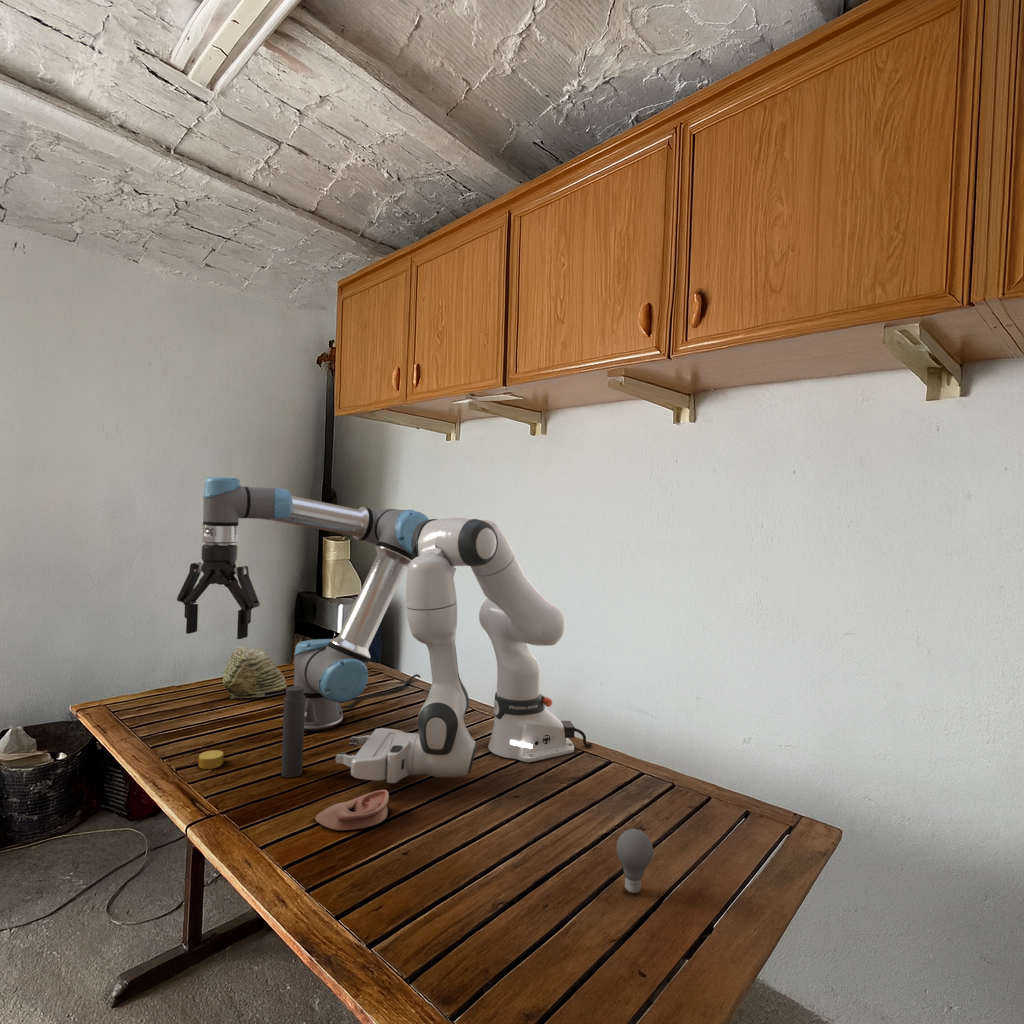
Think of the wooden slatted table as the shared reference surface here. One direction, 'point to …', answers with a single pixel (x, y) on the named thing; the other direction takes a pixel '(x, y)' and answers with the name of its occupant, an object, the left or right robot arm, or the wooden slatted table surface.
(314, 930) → the wooden slatted table surface
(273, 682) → the fossil
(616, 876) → the wooden slatted table surface
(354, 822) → the anatomical model
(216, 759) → the lid
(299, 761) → the dark grey slim bottle
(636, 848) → the light bulb
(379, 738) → the right robot arm
